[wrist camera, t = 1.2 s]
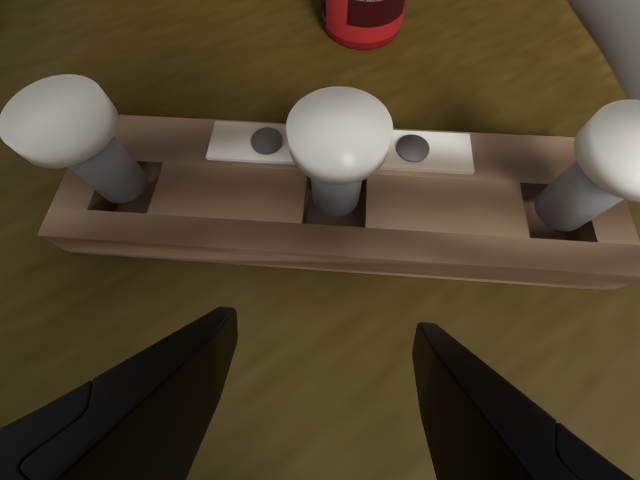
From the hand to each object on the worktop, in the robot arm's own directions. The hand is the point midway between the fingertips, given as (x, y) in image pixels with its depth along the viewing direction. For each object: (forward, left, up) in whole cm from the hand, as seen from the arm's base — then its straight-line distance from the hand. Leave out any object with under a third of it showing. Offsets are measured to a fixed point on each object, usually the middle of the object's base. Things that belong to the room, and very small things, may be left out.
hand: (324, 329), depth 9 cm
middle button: (+9, +5, -10) cm, 14 cm away
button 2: (+2, +17, -10) cm, 20 cm away
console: (+9, +5, -13) cm, 16 cm away
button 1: (+15, -8, -10) cm, 20 cm away
